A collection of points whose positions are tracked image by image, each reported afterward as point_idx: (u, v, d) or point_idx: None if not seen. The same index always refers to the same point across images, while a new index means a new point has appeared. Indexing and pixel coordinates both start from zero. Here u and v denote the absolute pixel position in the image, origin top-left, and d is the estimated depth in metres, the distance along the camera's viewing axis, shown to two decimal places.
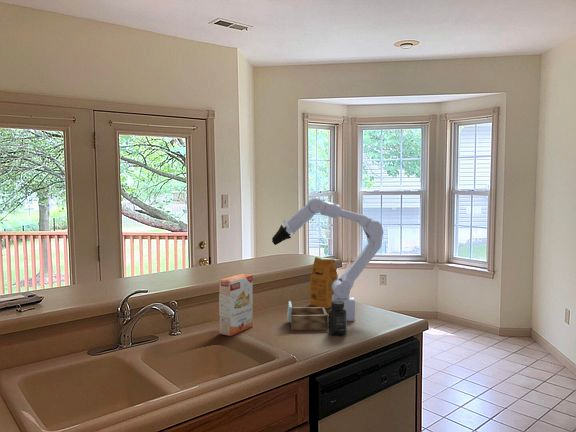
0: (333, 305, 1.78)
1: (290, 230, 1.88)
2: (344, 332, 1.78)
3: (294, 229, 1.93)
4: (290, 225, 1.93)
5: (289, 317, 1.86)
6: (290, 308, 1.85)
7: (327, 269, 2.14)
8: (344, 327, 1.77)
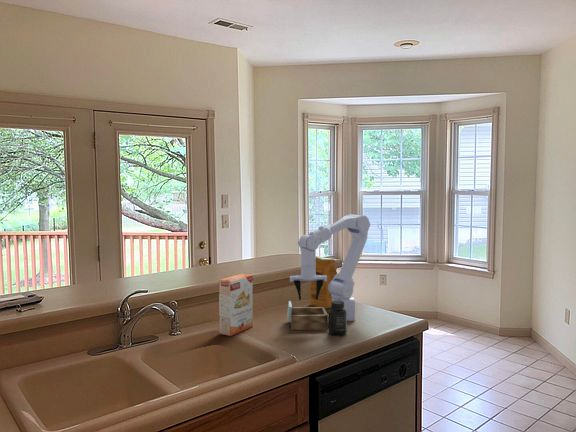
0: (333, 305, 1.78)
1: (326, 277, 1.90)
2: (344, 332, 1.78)
3: None
4: (315, 275, 1.89)
5: (289, 317, 1.86)
6: (290, 308, 1.85)
7: (327, 269, 2.14)
8: (344, 327, 1.77)
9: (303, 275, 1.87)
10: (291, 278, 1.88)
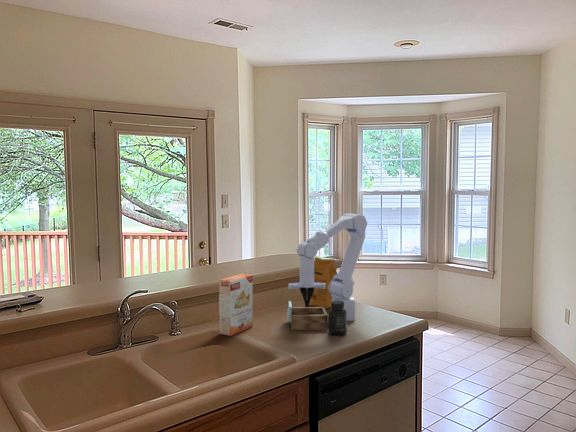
0: (333, 305, 1.78)
1: None
2: (344, 332, 1.78)
3: None
4: (313, 282, 1.89)
5: (289, 317, 1.86)
6: (290, 308, 1.85)
7: (327, 269, 2.14)
8: (344, 327, 1.77)
9: (302, 283, 1.88)
10: (290, 286, 1.88)
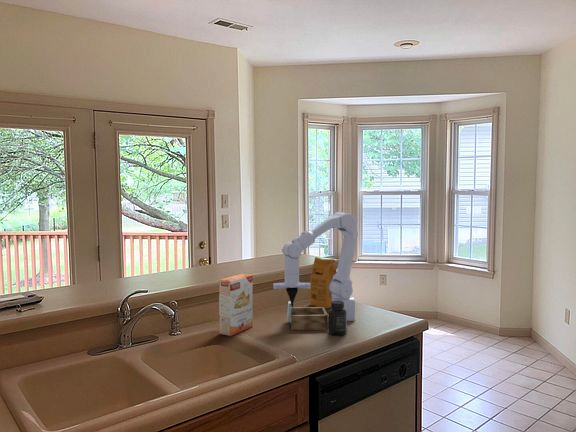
0: (333, 305, 1.78)
1: None
2: (344, 332, 1.78)
3: None
4: (298, 282, 1.89)
5: (289, 317, 1.86)
6: (290, 308, 1.85)
7: (327, 269, 2.14)
8: (344, 327, 1.77)
9: (286, 282, 1.87)
10: (274, 285, 1.88)
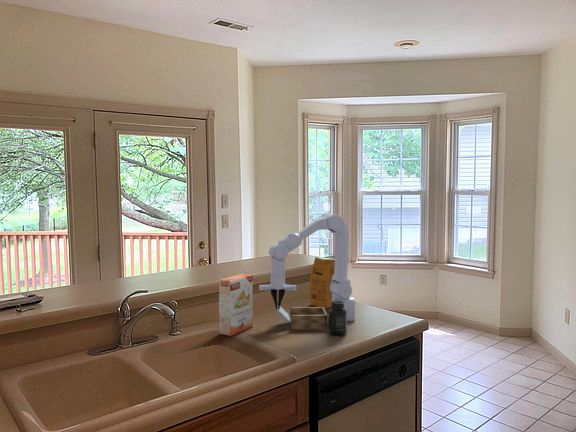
0: (333, 305, 1.78)
1: None
2: (344, 332, 1.78)
3: None
4: (284, 284, 1.89)
5: (285, 319, 1.86)
6: (279, 312, 1.85)
7: (327, 269, 2.14)
8: (344, 327, 1.77)
9: (272, 284, 1.87)
10: (260, 287, 1.88)
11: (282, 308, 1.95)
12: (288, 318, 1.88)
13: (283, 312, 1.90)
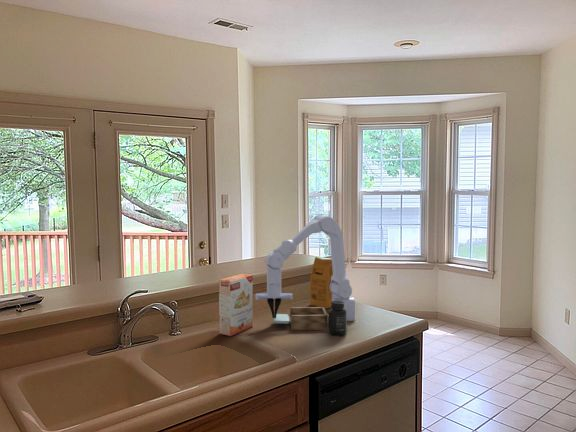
0: (333, 305, 1.78)
1: (292, 295, 1.90)
2: (344, 332, 1.78)
3: None
4: (281, 293, 1.89)
5: (284, 322, 1.86)
6: (275, 321, 1.86)
7: (327, 269, 2.14)
8: (344, 327, 1.77)
9: (268, 293, 1.87)
10: (257, 296, 1.88)
11: (279, 314, 1.95)
12: (287, 319, 1.88)
13: (280, 317, 1.90)
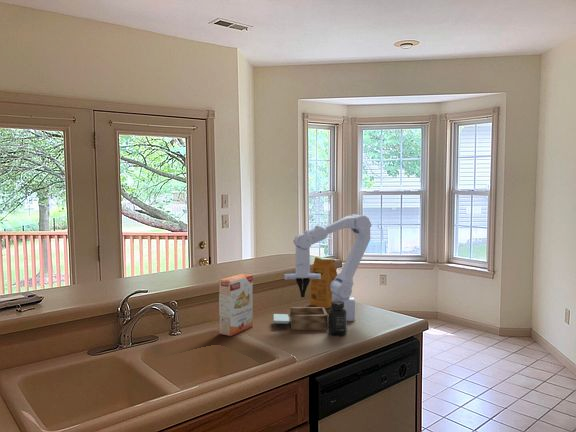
0: (333, 305, 1.78)
1: (320, 275, 1.94)
2: (344, 332, 1.78)
3: None
4: (309, 273, 1.93)
5: (284, 322, 1.86)
6: (275, 321, 1.86)
7: (327, 269, 2.14)
8: (344, 327, 1.77)
9: (297, 273, 1.91)
10: (286, 276, 1.92)
11: (279, 314, 1.95)
12: (287, 319, 1.88)
13: (280, 317, 1.90)
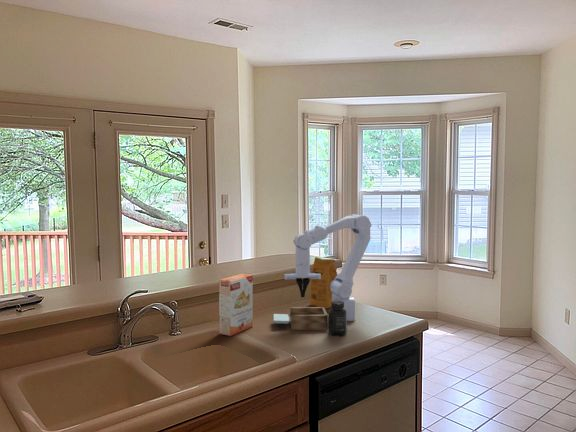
0: (333, 305, 1.78)
1: (320, 275, 1.94)
2: (344, 332, 1.78)
3: None
4: (309, 273, 1.93)
5: (284, 322, 1.86)
6: (275, 321, 1.86)
7: (327, 269, 2.14)
8: (344, 327, 1.77)
9: (297, 273, 1.91)
10: (286, 276, 1.92)
11: (279, 314, 1.95)
12: (287, 319, 1.88)
13: (280, 317, 1.90)
